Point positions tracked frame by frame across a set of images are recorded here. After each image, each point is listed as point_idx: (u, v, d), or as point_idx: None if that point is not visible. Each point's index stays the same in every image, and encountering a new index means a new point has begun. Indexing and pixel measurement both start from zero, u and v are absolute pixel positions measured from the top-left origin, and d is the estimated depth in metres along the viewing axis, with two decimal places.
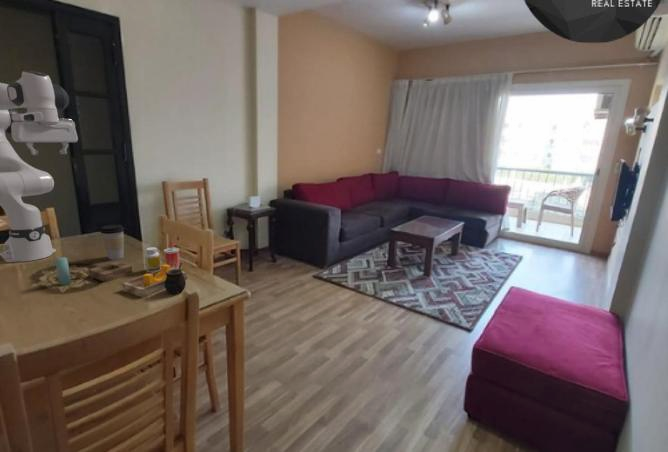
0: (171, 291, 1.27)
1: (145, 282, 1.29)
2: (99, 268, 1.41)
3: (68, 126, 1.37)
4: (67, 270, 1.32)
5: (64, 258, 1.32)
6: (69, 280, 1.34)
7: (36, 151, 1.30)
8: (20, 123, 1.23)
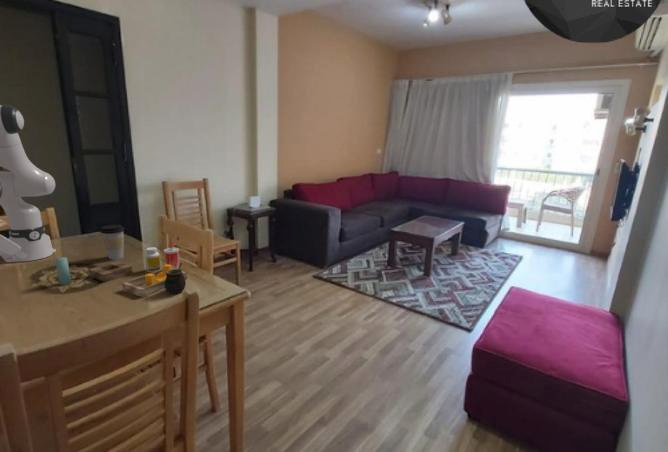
0: (171, 291, 1.27)
1: (147, 282, 1.29)
2: (99, 268, 1.41)
3: None
4: (67, 270, 1.32)
5: (64, 258, 1.32)
6: (69, 280, 1.34)
7: (23, 252, 1.17)
8: (1, 235, 1.08)
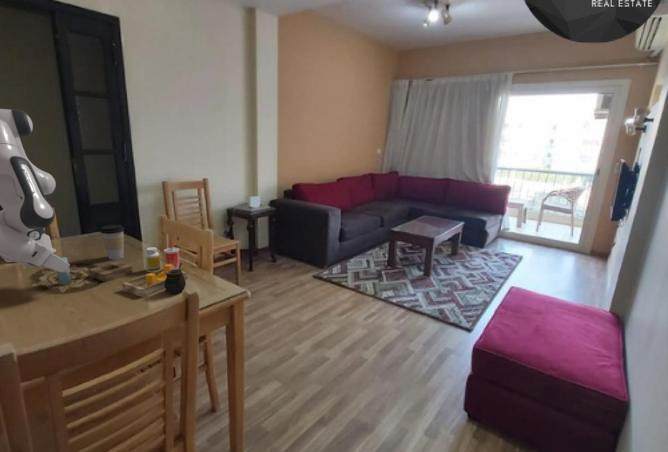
0: (171, 291, 1.27)
1: (148, 282, 1.29)
2: (99, 268, 1.41)
3: None
4: None
5: (64, 258, 1.32)
6: (69, 280, 1.34)
7: None
8: (54, 254, 1.22)
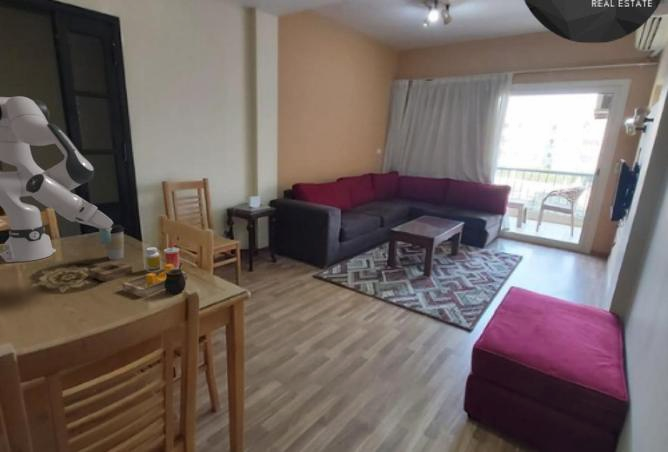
0: (171, 291, 1.27)
1: (148, 282, 1.29)
2: (99, 268, 1.41)
3: None
4: None
5: None
6: (110, 239, 1.39)
7: None
8: None
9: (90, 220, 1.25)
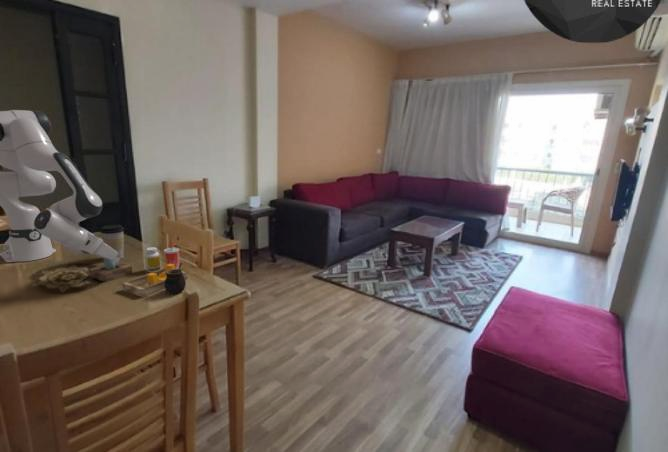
0: (171, 291, 1.27)
1: (149, 281, 1.30)
2: (99, 268, 1.41)
3: None
4: (113, 262, 1.42)
5: None
6: None
7: (116, 257, 1.40)
8: (104, 243, 1.31)
9: (96, 253, 1.29)
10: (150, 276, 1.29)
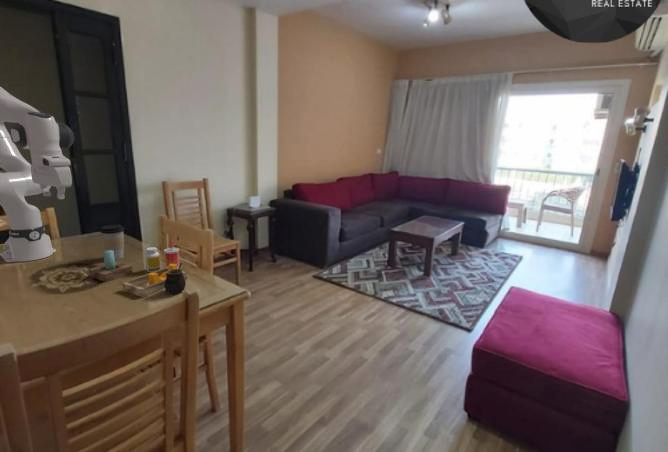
0: (171, 291, 1.27)
1: (150, 281, 1.30)
2: (99, 268, 1.41)
3: None
4: (113, 262, 1.42)
5: (111, 251, 1.42)
6: None
7: None
8: None
9: (54, 167, 1.20)
10: (151, 276, 1.29)
